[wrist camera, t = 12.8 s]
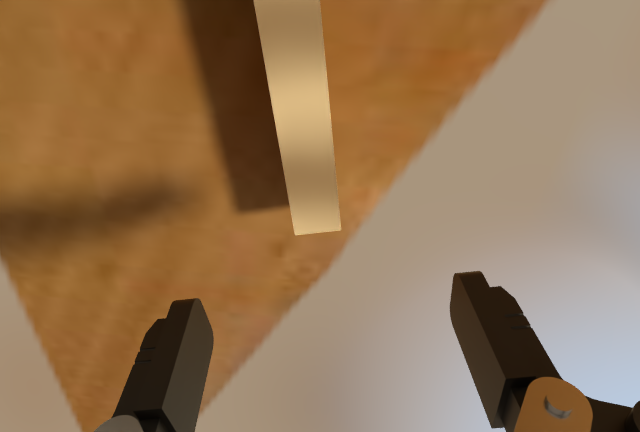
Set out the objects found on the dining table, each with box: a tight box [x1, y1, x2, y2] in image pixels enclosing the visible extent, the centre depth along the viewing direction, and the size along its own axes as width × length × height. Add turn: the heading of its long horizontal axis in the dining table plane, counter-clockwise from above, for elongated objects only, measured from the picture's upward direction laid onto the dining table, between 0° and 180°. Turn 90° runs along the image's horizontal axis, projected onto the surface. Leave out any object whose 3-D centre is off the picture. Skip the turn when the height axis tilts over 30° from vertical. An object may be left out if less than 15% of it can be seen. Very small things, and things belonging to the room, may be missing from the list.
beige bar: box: [254, 0, 341, 235], centre depth 16 cm, size 21×7×4 cm, turn 6°
